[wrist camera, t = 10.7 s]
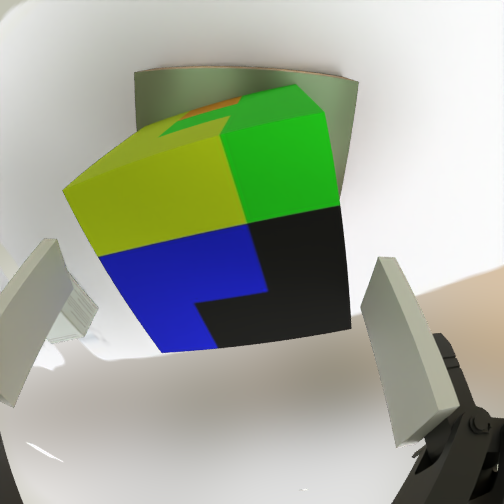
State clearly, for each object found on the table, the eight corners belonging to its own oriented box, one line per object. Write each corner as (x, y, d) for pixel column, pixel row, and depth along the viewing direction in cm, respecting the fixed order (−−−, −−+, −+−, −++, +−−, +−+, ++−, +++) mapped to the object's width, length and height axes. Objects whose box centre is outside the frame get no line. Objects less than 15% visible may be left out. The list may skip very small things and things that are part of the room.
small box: (65, 318, 38) (50, 345, 34) (30, 277, 34) (11, 303, 30) (100, 308, 36) (85, 338, 32) (62, 261, 32) (41, 290, 28)
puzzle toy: (193, 247, 24) (161, 352, 16) (144, 126, 19) (62, 190, 11) (323, 222, 22) (351, 328, 14) (295, 83, 17) (324, 111, 9)
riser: (164, 224, 28) (150, 252, 25) (155, 68, 20) (134, 72, 16) (318, 234, 28) (325, 263, 25) (342, 76, 20) (358, 81, 16)
